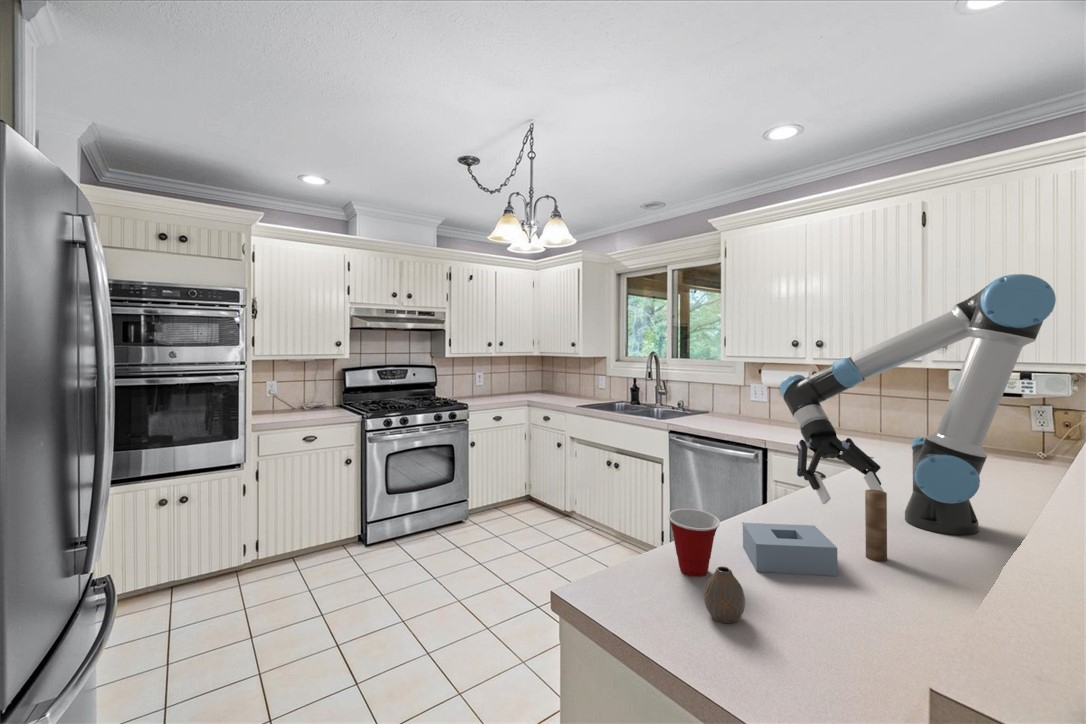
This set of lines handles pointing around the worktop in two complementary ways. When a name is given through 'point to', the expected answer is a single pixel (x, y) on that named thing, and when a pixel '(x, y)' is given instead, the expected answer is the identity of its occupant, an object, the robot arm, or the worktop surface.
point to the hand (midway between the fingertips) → (854, 500)
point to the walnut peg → (876, 525)
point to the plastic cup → (693, 539)
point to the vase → (724, 596)
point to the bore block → (789, 549)
